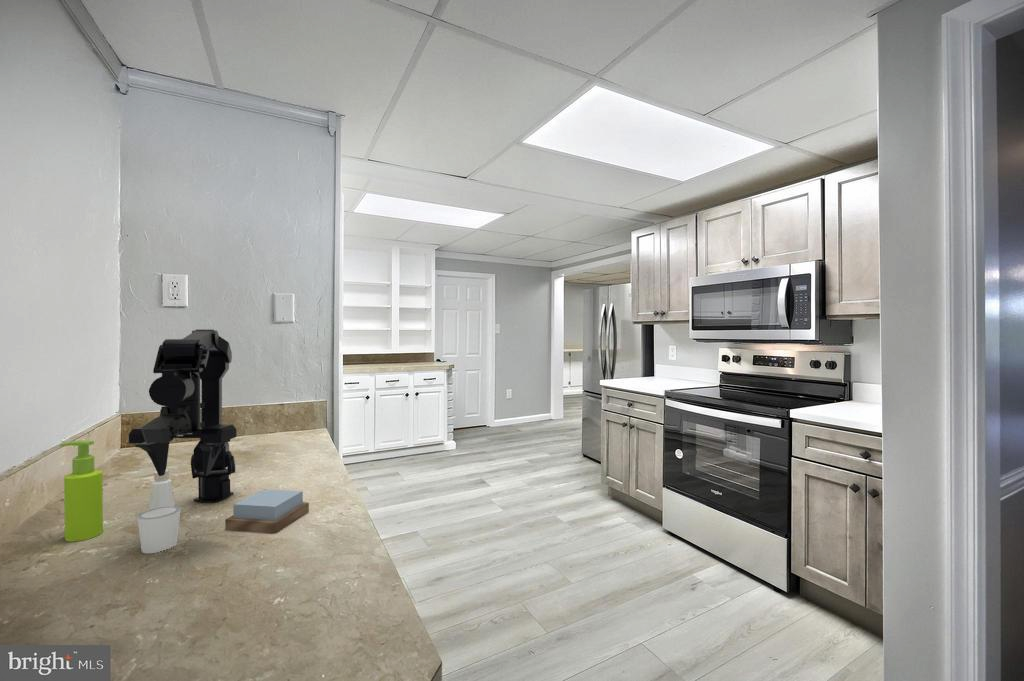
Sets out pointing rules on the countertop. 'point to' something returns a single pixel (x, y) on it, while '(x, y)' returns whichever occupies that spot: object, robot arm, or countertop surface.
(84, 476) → the soap dispenser
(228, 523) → the tower base
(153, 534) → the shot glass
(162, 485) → the pepper shaker
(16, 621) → the countertop surface
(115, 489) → the countertop surface
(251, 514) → the tower top
